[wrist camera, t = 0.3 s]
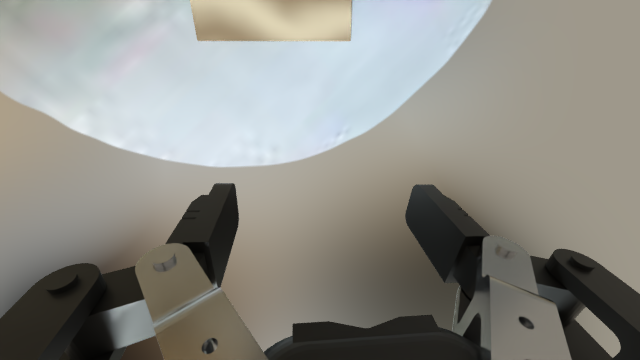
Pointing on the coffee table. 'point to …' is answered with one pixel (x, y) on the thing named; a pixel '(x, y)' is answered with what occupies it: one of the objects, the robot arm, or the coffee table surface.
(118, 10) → the coffee table surface
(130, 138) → the coffee table surface
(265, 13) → the beige board
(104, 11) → the coffee table surface
